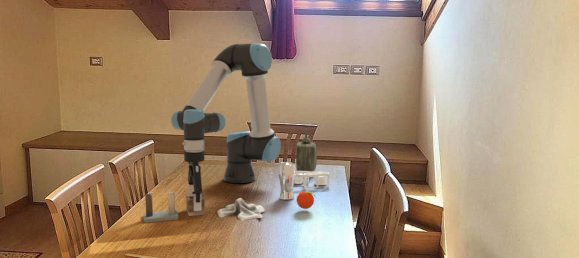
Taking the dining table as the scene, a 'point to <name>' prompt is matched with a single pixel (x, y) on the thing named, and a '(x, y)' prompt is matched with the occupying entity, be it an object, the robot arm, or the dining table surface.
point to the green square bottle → (306, 155)
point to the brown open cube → (191, 206)
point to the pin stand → (162, 215)
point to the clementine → (305, 199)
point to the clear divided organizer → (318, 176)
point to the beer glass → (286, 180)
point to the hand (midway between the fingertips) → (195, 205)
